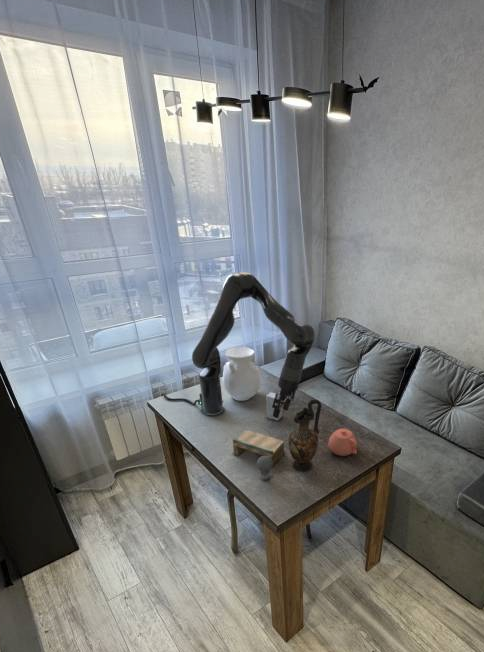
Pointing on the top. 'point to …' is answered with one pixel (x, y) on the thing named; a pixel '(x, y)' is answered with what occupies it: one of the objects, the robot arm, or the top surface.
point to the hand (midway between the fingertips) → (280, 413)
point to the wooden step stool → (259, 445)
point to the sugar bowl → (342, 442)
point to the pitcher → (241, 374)
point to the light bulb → (265, 466)
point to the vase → (304, 437)
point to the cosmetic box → (270, 410)
